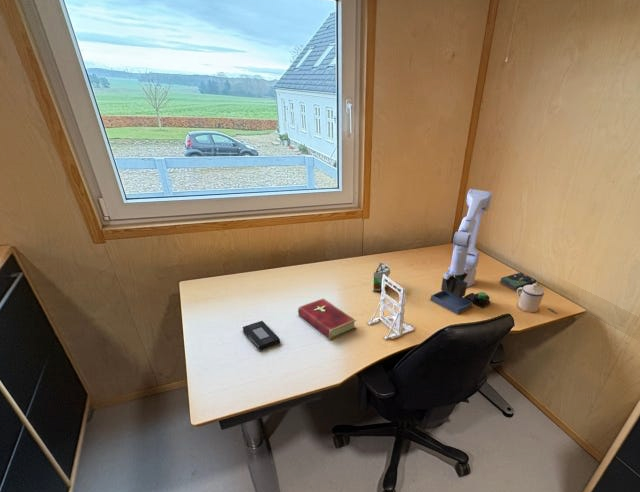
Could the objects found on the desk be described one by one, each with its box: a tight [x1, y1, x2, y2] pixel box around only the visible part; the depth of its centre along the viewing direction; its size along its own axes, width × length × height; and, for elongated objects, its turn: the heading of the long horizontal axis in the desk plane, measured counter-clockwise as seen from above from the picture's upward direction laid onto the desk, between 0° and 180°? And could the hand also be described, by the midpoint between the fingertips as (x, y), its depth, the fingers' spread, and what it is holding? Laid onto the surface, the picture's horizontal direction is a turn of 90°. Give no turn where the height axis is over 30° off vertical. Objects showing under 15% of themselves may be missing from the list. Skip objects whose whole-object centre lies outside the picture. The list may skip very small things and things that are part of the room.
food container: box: [373, 262, 391, 293], centre depth 164 cm, size 12×6×10 cm, turn 168°
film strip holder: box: [367, 274, 415, 341], centre depth 135 cm, size 14×14×20 cm
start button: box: [478, 291, 488, 299], centre depth 158 cm, size 4×4×2 cm
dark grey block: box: [440, 276, 468, 298], centre depth 154 cm, size 5×10×6 cm, turn 43°
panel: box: [463, 292, 492, 309], centre depth 160 cm, size 6×10×4 cm, turn 43°
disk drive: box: [499, 272, 537, 291], centre depth 179 cm, size 10×3×15 cm
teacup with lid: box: [516, 283, 545, 313], centre depth 157 cm, size 12×9×12 cm
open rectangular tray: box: [430, 290, 474, 315], centre depth 158 cm, size 10×15×2 cm
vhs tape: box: [242, 320, 281, 352], centre depth 128 cm, size 8×14×2 cm, turn 40°
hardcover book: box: [297, 298, 357, 341], centre depth 139 cm, size 12×21×4 cm, turn 43°
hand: (453, 289), depth 155 cm, fingers closed on dark grey block, 4 cm apart
